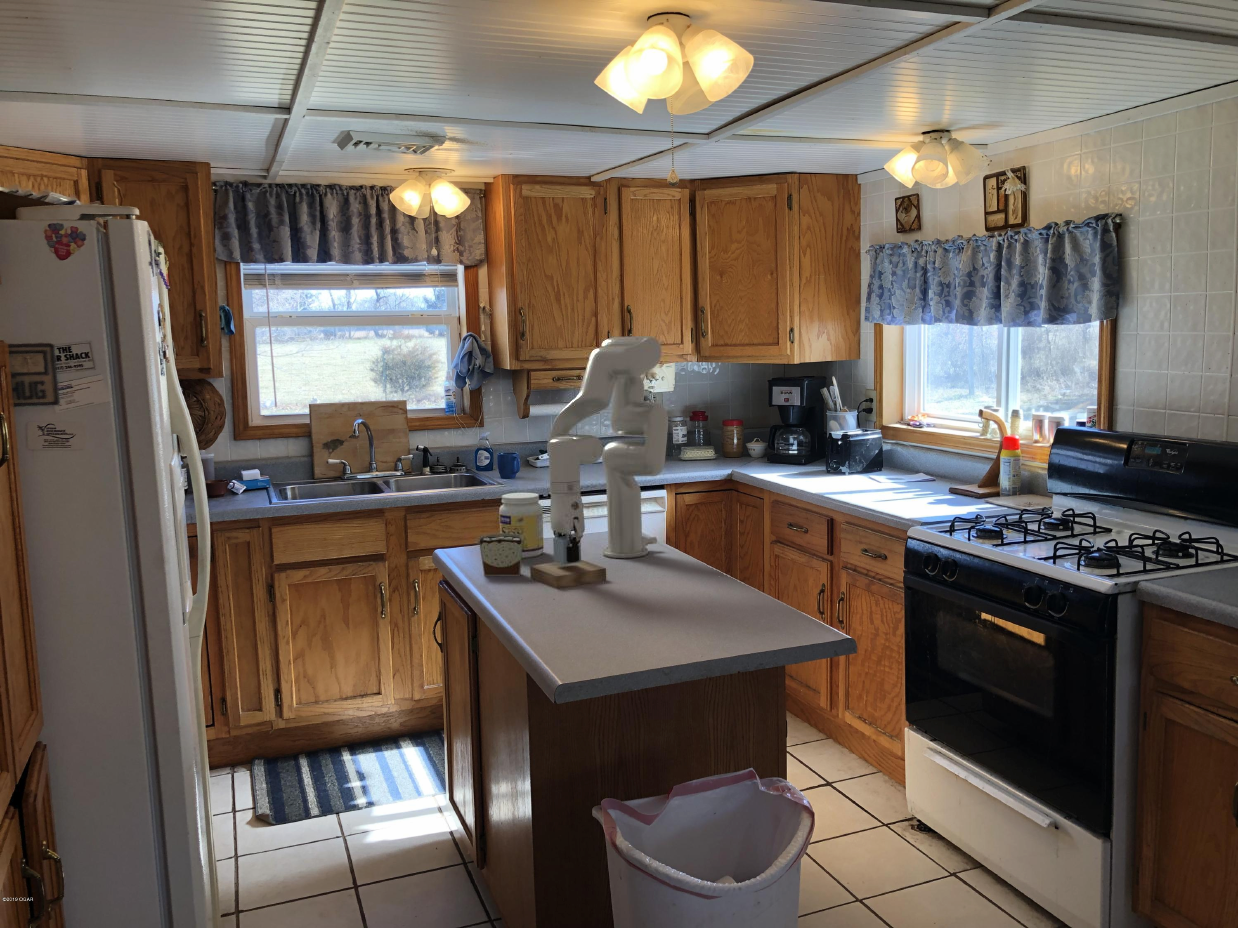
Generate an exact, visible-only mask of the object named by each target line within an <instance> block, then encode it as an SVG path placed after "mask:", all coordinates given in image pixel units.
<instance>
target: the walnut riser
mask: <svg viewBox="0 0 1238 928" xmlns="http://www.w3.org/2000/svg"><path fill="white" fill-rule="evenodd" d="M529 567H530V569H529V571H530V572H529V574H530V579H533V580H535V581H537V582H539V583H542V584H545V585H547V586H549V587H553V588H554V589H562V588H567V587H572V586H573V587H574V586H579V585H584V584H591V583H596V582H597V583H598V582H602V581H607V568H606V567H605V566H601V565H598V564H595V563H592V562H590V561H587V560H583V559H581V562H579V563H572V564H566V565H562V564H560V563H557V562H554V561H553V562H549V563H542V564H536V565H535V564H534V565H530V566H529Z"/></svg>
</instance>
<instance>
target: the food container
mask: <svg viewBox="0 0 1238 928" xmlns="http://www.w3.org/2000/svg"><path fill="white" fill-rule="evenodd" d="M522 543H524V538H523V537H522V535H519V534H512V533H500V532H499V533H491V534H486V535H485V534H484V535H481V536H480V537H478V539H477V545H476V546H479V550H480V556H481V562H482V563H481V565H482V570H483V577H495V576H496V577H499V576H500V577H521V574H522V573H521V572H522V559H523V558H522ZM524 545H525V543H524Z"/></svg>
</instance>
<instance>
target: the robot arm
mask: <svg viewBox="0 0 1238 928" xmlns="http://www.w3.org/2000/svg"><path fill="white" fill-rule="evenodd" d="M662 352H663V351H662V345H661V343H660V341H659V340H658V339H657V338H656V337H653V336H649V335H648V336H647V335H645V336H643V335H641V336H616V337H610V338H607V339H605V340H604V341H603V342H602V343H601V345H600V347H597V348H595V349H593V350H592V352H591V353H590V355H589V358H588V361H587V364H586V368H585V370H584V374H583V378H582V381H581V384H580V388H579V392H578V394H577V396H576V397H575V398H574V399H573V400H571V401H570V402H569V403H568V404H567V405H565V407H564V408H563V409H562V410H561V411H560V412H559V414H558V415H556V417H555V419H554V421H553V423H552V425H551V429H550V432H549V435H548V439H547V444H546V445H547V446H546V449H547V450H546V451H547V452H546V453H547V456H548V470H549V495H550V506H549V507H550V512H549V513H550V519H549V520H550V528H551V531H552V532H553V533H552V534H553V536H554V538H557V537H563V536H567V542H568V547H567V562H568V563H571V562H577V561H579V545H580V541H582V539H583V537H584V533H585V531H586V529H585V528H586V524H585V513H584V512H585V511H584V506H583V505H584V504H583V498H582V494H581V471H580V470H581V467H580V465H593V464H596V463H597V462H598V461H599V460H600V459H601V461H602V466H603V471H604V477H605V486H606V487H605V488H606V510H607V511H606V512H607V517H606V518H607V547H605V548H603V549H602V555H603V556H605V557H607V558H615V559H630V558H632V559H633V558H639V557H644V556H646V555H648V552H649V549H648V548H647V546H648V545H655V544H658V539H657V537H656V536H650V537H648V536H644V535H643V526H642V525H643V522H642V521H643V520H642V492H641V487H640V484H639V483H638V481H637V480H636V478H635V477H656V476H659V475H660V474H661V473H662V472H663V469H664V467H665V463H666V462H665V461H666V453H667V452H666V451H667V444H668V443H667V441H668V432H669V418H668V413H667V409H666V408H665V406H664V405H663V404H661V403H659V402H656V401H655V402H654V401H644V400H645V383H644V381H643V379H642V377H641V376H643V375H645V374H646V373H648V372H649V371H651V370H653V369H654V368H656V367H657V366H658V364H659V363H660V361H661V358H662ZM611 399H612V405H611V407H612V409H611V417H610V419H611V420H610V426H611V429H612V432H613V433H614V434H615V435H617V436H622V437H641V438H642V437H643V438H645V441H640V440H637V441H636V440H615V441H611V442H608V443H607V444H606V445H605V446H604V445H603V443H602V441H601V440H600V439H599V438H598V437H597V436H596V435H591V434H578V433H576V434H575V433H574V434H573V433H572V434H571V432H572V430H573V429H574V428H575V426H578V424H579V423H581V422H582V421H584V420H586V419H588V418H592V416H595V415H597V414H600V413H601V412H603V411H605V410H607V409H608V407H609V405H610V403H611ZM603 446H604V447H603ZM571 536H574V537H573V538H572V540H571Z"/></svg>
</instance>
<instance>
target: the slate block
mask: <svg viewBox="0 0 1238 928" xmlns="http://www.w3.org/2000/svg"><path fill="white" fill-rule="evenodd" d="M573 537H575V536H571V540H572V538H573ZM552 541H553V562H557V563H560V564H562V565H566V564H572V563H579V562H581V560H582V549H581V547H582V545H581V541H582V540H580V545H579V561H577V562H571V563H568V562H567V547H568V542H567V536H563V537H557V538H555V537H553V539H552Z"/></svg>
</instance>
